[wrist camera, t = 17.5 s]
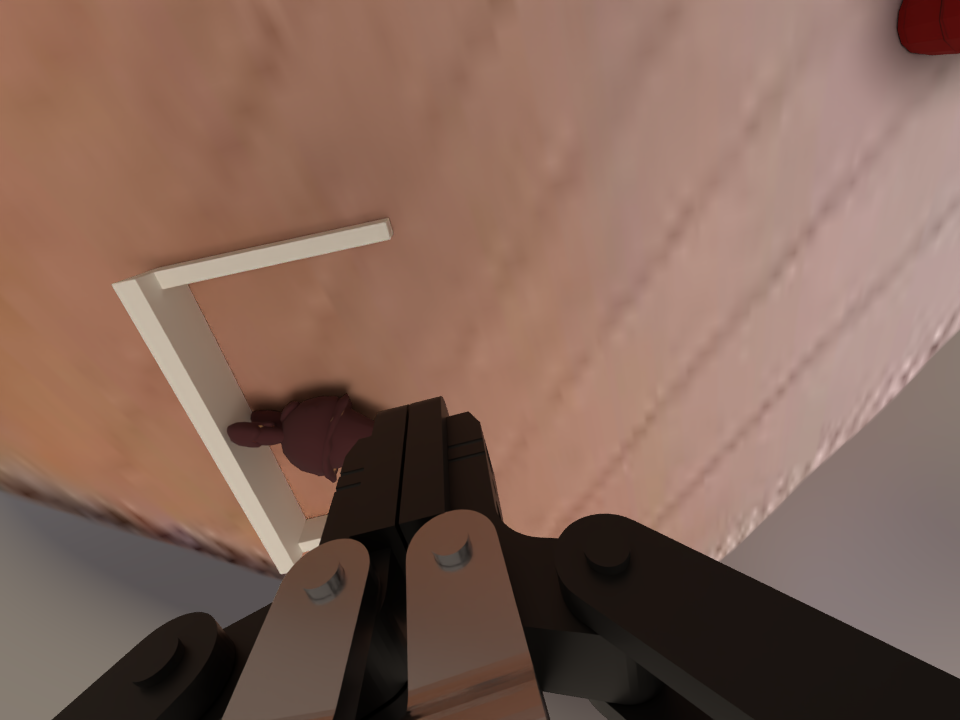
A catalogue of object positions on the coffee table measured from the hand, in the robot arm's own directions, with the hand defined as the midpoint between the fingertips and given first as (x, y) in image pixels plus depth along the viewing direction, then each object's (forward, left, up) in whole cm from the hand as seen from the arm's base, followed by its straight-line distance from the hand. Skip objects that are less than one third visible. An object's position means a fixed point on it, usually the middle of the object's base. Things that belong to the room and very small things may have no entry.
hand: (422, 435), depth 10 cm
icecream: (+11, +13, -26) cm, 31 cm away
